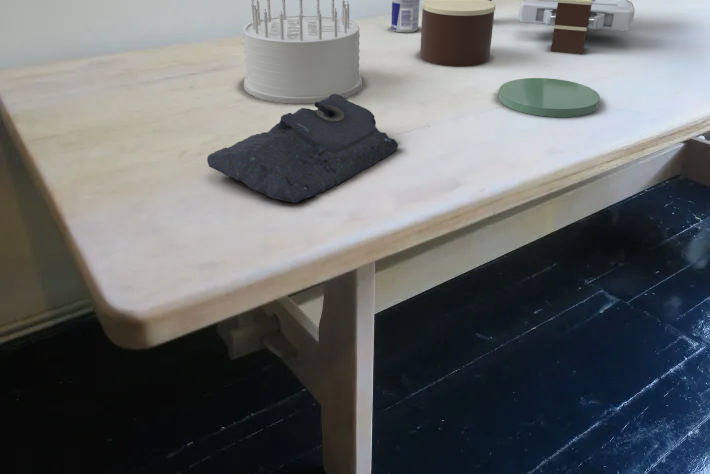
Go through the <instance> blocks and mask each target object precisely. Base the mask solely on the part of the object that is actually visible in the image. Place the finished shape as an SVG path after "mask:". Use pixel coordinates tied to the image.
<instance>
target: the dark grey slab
mask: <svg viewBox="0 0 710 474" xmlns="http://www.w3.org/2000/svg"><path fill="white" fill-rule="evenodd" d="M313 104H314V107H315V108H317V109H311V108H306V107H301V108H299V109H297V111H295V112H294V113H292V112H288V113H285V114H282V115H281V116H280V121H279V122H278V123H276V124H275V125H274V126H273V127H271V128H270V129H269V131H267V132H266V131H265V132H261V133H256V134H253V135H250V136H248V137H247V138H244V139H242V140H241V141H238V142H236V143H234V144H233V145H231V146H229V147H223V148H221V149H219V150H216V151H214V152H212V153H209V155H208V156H207V158H206V161H207V165H208V167H209V168H210V169H212V170H216V171H218V172H220V173H222V174H223V175H225V176H227V177H230V178H233V179H234V180H235V181H239V182H242V183H244V184H245V185H246V186H247V187H248V188H250V189H252V190H254V191H256V192H259V193H261V194H263V195H265V196H268V197H269V198H272V199H274V200H280V201H283V202H291V203H298V202H300V201H302V200H306V199H308V198H312V197H316V196H317V195H319V194H322V193H324V192H325V191H326V190H329V189H332V188H333V187H334V186H338V185H340V184H342V183H343V182H344V181H347V180H349V179H351V178H354V177H355V175H357V174H360V173H361V172H362V171H365V170H367V169H368V168H369V167H372V166H374V164H376V163H379V161H381V160H384V159H385V158H387V157H389V156H390V154H393V153H394V152H395V151H397V149H398V147H399V144H398V142H397V141H396V140H395V139H394V138H391V137H389V136H388V135H387V133H386V132H381V131H380V130H379V129H378V128H377V126H376V125H377V121H376V119H375V114H373V112H371V110H369V109H367V108H366V107H364V106H362V105H359V104H356V103H354V102H352V101H349V100H348V99H346V97H345V98H343V97H342V96H341V95H338V94H332V95H330V96H329V97H328V98H326V99H324V100H322V101H320V102H315V103H313Z"/></svg>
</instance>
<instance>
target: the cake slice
mask: <svg viewBox="0 0 710 474" xmlns="http://www.w3.org/2000/svg"><path fill="white" fill-rule="evenodd" d="M591 6H592V0H558V5H557V12H556V18H555V25H554V26H553V32H552V38H551V44H550V52H556V53H566V54H574V55H575V54H578V55H583V52H584V49H585V46H586V45H585V44H586V40H587V33H588V31H587V26H588V20H589V17H590V12H591Z"/></svg>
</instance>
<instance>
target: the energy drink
mask: <svg viewBox="0 0 710 474" xmlns="http://www.w3.org/2000/svg"><path fill="white" fill-rule="evenodd" d="M419 18H420V0H391V22H390V23H391V25H390V26H391V27H390V28H391V30H392V31H393V32H397V33H403V34H404V33H407V34H408V33H414V32H417V30H419V20H420V19H419Z"/></svg>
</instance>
